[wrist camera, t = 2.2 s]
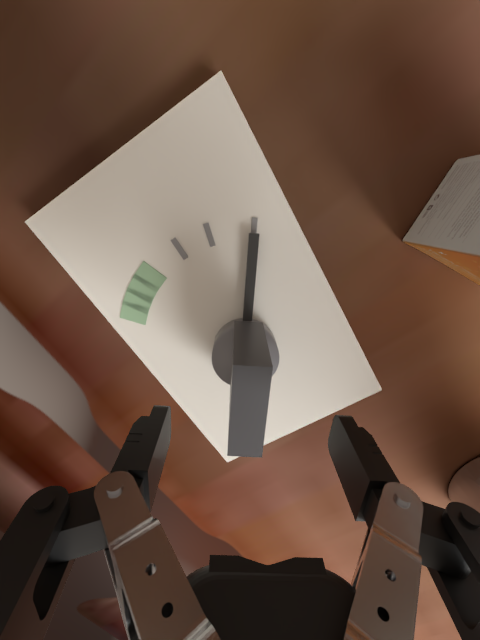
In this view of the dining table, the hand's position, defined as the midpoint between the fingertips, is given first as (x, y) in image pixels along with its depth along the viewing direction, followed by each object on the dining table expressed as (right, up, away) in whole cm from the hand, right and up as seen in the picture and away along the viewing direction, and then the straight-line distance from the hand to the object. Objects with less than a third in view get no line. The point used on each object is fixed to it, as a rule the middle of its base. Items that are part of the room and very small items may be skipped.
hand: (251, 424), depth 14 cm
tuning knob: (0, +6, +8) cm, 10 cm away
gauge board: (-2, +6, +10) cm, 11 cm away
